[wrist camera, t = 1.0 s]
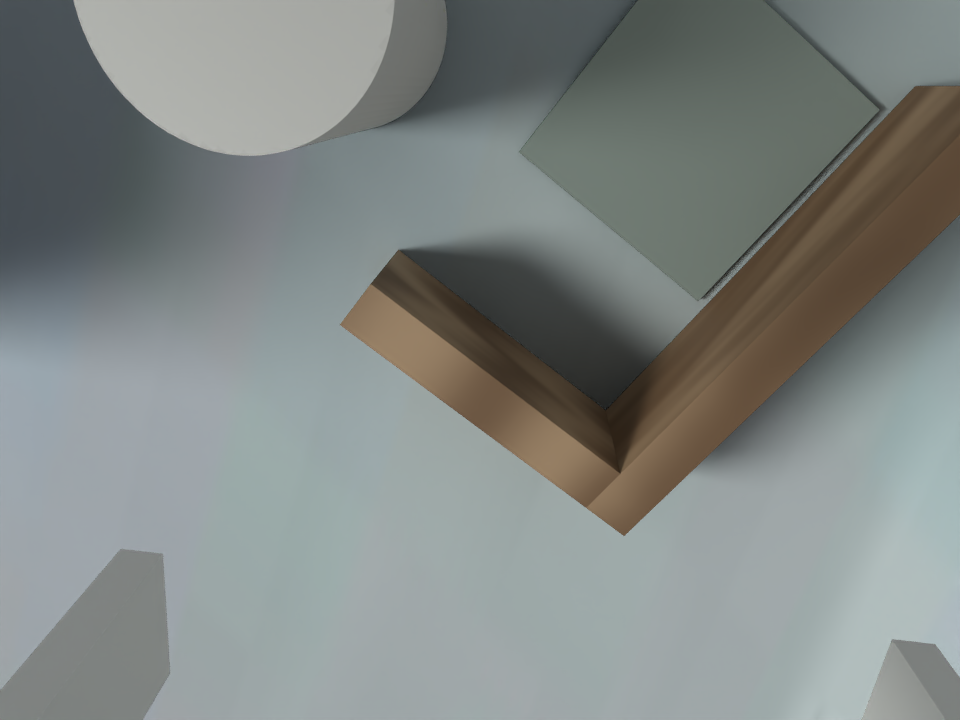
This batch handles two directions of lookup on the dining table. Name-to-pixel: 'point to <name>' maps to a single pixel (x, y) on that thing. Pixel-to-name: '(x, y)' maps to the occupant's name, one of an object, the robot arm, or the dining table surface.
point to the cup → (267, 65)
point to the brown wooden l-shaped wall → (703, 342)
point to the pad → (697, 131)
